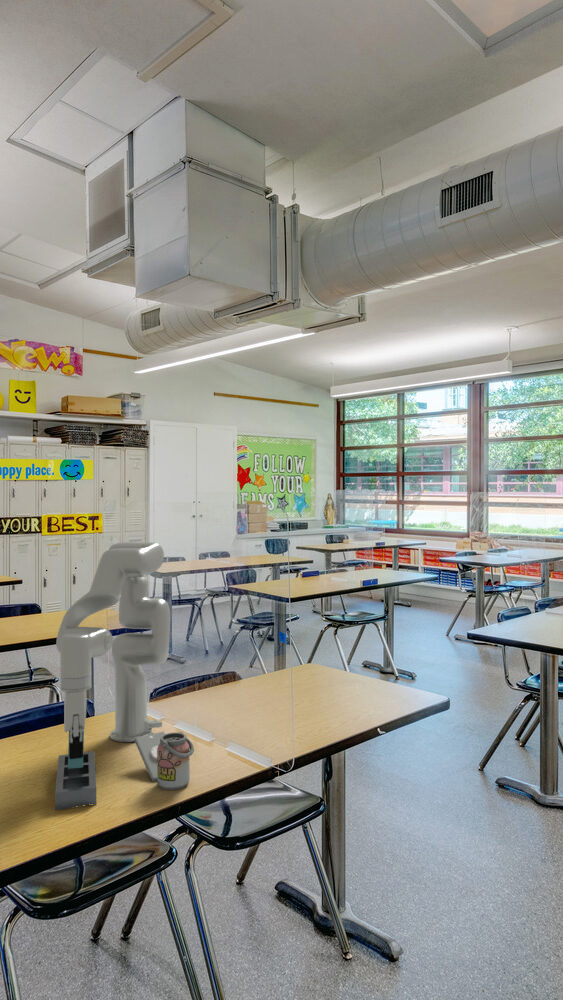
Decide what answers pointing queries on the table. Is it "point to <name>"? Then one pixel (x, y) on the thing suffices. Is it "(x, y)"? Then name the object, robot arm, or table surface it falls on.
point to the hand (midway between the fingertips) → (76, 754)
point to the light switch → (149, 752)
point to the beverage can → (174, 761)
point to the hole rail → (75, 783)
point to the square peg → (79, 761)
